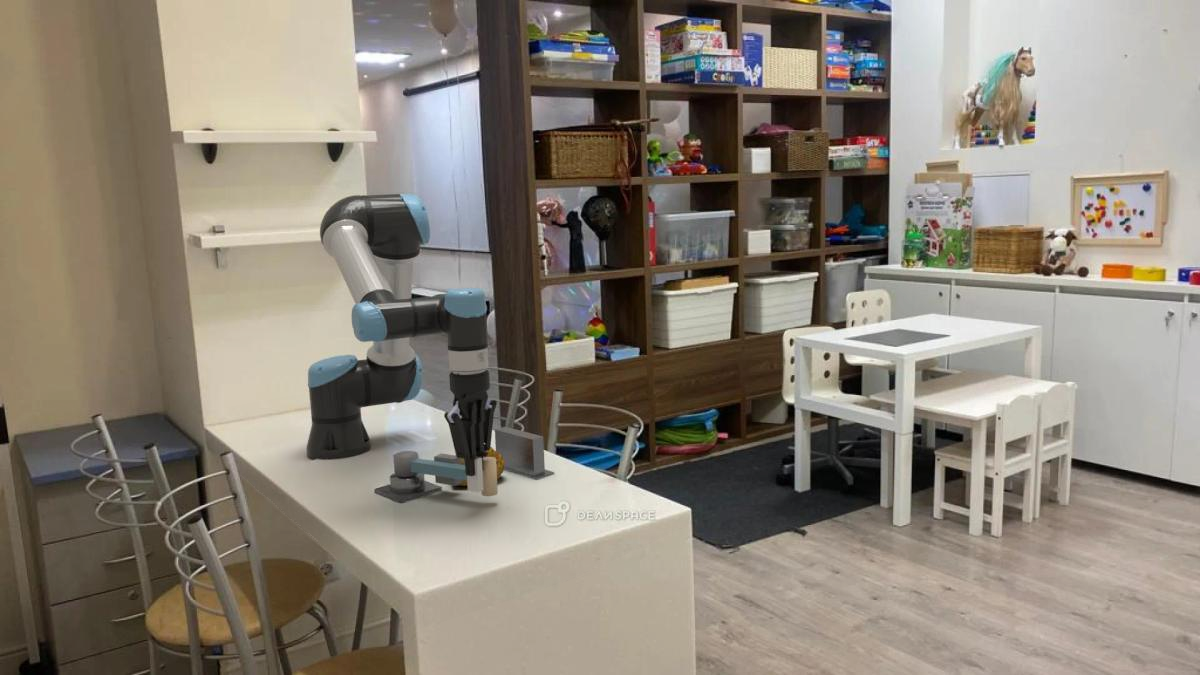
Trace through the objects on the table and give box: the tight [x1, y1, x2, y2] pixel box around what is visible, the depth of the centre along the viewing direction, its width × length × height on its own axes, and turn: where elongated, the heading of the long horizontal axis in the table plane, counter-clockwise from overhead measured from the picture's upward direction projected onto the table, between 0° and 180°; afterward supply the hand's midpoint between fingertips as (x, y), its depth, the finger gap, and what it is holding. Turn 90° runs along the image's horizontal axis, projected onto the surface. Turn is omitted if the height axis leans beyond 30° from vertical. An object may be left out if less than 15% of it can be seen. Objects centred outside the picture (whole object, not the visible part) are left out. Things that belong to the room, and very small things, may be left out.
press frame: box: [373, 426, 555, 504], centre depth 188 cm, size 21×32×9 cm, turn 135°
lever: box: [392, 450, 499, 497], centre depth 180 cm, size 25×6×7 cm, turn 61°
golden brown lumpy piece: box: [455, 446, 505, 487], centre depth 189 cm, size 11×8×10 cm
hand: (475, 490), depth 171 cm, fingers closed
